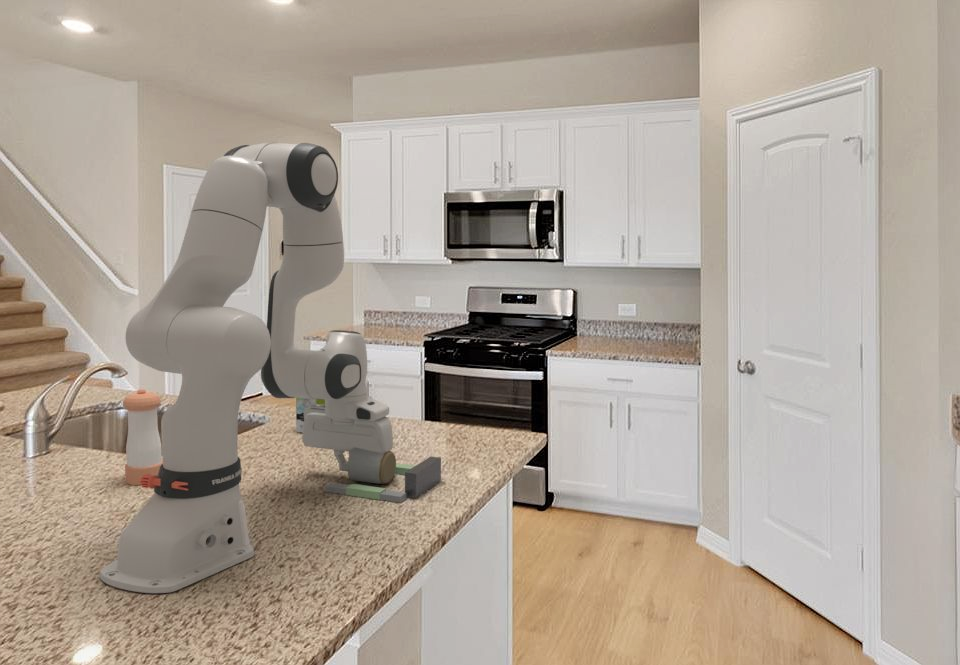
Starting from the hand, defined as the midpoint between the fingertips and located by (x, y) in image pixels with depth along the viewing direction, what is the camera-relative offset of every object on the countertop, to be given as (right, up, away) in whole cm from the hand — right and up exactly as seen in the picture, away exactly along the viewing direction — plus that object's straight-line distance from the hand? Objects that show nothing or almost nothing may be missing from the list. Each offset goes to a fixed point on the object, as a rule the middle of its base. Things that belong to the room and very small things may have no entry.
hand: (346, 470), depth 148 cm
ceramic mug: (+6, -2, -1) cm, 6 cm away
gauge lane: (+8, -2, -3) cm, 9 cm away
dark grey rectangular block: (+17, -3, -6) cm, 18 cm away
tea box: (-12, +2, +41) cm, 43 cm away
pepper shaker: (-42, -2, -2) cm, 42 cm away
